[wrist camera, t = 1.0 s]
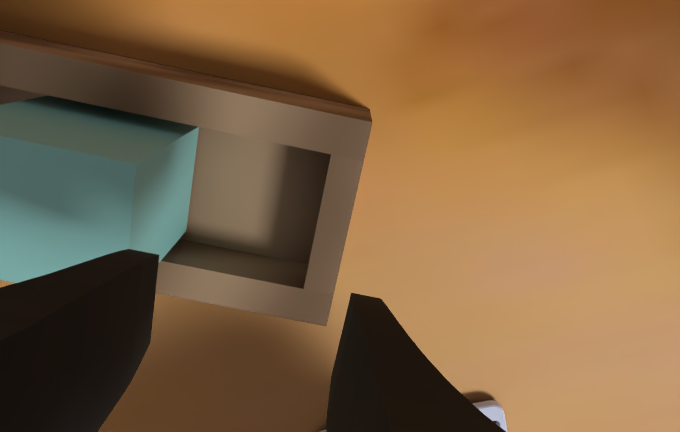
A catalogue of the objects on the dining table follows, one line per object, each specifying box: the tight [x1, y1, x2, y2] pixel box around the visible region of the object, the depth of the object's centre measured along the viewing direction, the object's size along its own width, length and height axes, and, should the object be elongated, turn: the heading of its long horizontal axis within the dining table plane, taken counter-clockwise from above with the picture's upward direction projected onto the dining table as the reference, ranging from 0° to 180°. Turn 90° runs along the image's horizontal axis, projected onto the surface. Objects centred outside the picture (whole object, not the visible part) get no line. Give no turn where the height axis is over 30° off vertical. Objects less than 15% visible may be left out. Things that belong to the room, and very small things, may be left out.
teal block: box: [0, 95, 199, 283], centre depth 16 cm, size 5×4×6 cm
